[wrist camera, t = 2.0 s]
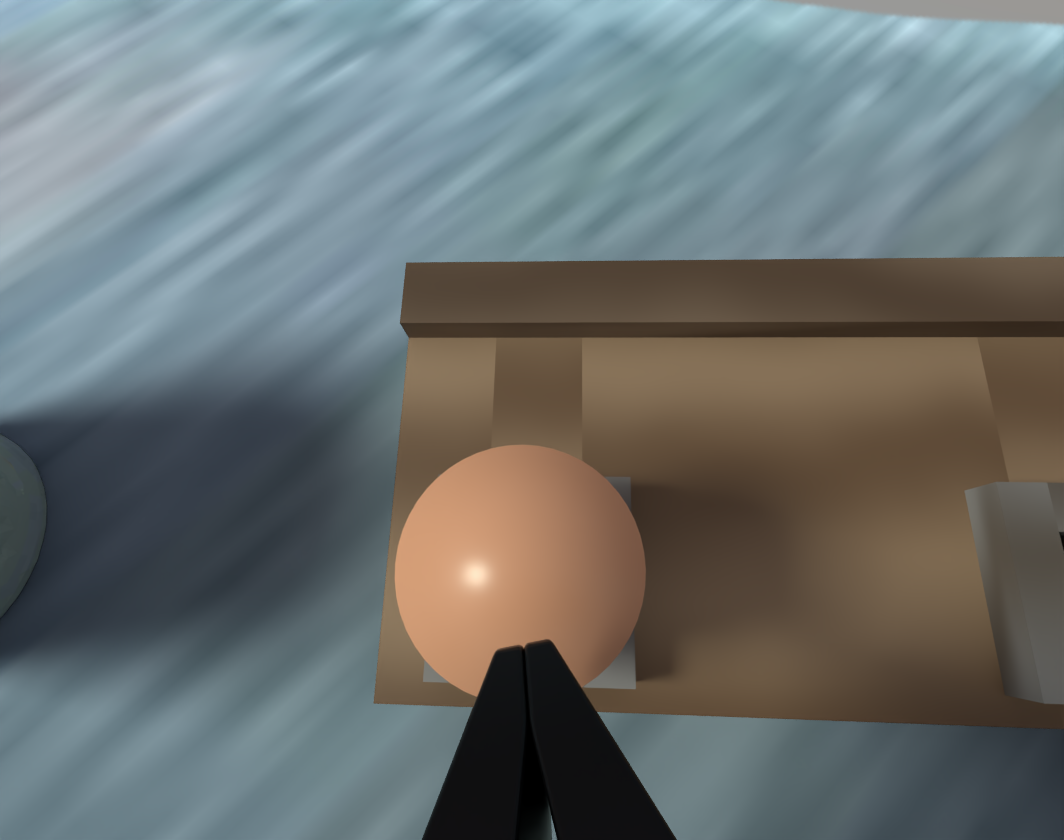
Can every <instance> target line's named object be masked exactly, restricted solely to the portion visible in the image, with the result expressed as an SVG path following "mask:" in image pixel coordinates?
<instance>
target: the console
mask: <svg viewBox="0 0 1064 840" xmlns="http://www.w3.org/2000/svg"><path fill="white" fill-rule="evenodd" d="M400 324H401V325H402V327H403V329H404V330H405V332H406V334H407V335H408V337H409V342H408V352H407V363H406V373H405V383H404V394H403V404H402V414H401V425H400V435H399V446H398V456H397V466H396V477H395V487H394V497H393V508H392V518H391V529H390V539H389V549H388V560H387V570H386V580H385V591H384V601H383V612H382V622H381V632H380V643H379V653H378V663H377V674H376V684H375V694H374V703H377V704H404V705H430V706H457V707H473V706H474V703H475V701H476V698H477V697H476V696H474V695H471V694H469V693H466V692H464V691H462V690H461V689H459V688H457V687H456V686H454V685H452V684H451V683H449V682H448V681H447V680H445V679H444V678H443V677H442V676H440V675H439V674H438V673H437V672H436V671H435V670H434V669H433V668H432V667H431V666H430V665H429V664H428V663H427V662H426V661H425V660H424V658H423V657H422V656H421V654H420V653H419V651H418V650H417V649H416V647H415V646H414V644H413V642H412V640H411V638H410V637H409V635H408V633H407V631H406V629H405V626H404V623H403V620H402V618H401V615H400V611H399V607H398V602H397V598H396V589H395V561H396V555H397V548H398V544H399V541H400V537H401V534H402V530H403V528H404V526H405V523H406V521H407V519H408V516H409V514H410V513H411V511H412V509H413V507H414V506H415V504H416V502H417V501H418V500H419V498H420V497H421V496H422V494H423V493H424V492H425V490H426V489H427V488H428V487H429V486H430V485H431V484H432V483H433V482H434V481H435V480H436V479H437V478H438V477H439V476H440V475H441V474H443V473H444V472H445V471H446V470H447V469H449V468H450V467H452V466H453V465H455V464H456V463H458V462H460V461H461V460H463V459H465V458H467V457H469V456H471V455H474V454H476V453H478V452H482V451H485V450H488V449H491V448H496V447H501V446H507V445H535V446H542V447H547V448H552V449H555V450H558V451H561V452H564V453H567V454H569V455H571V456H573V457H575V458H577V459H579V460H581V461H583V462H585V463H586V464H588V465H589V466H591V467H592V468H594V469H595V470H596V471H597V472H599V473H600V474H601V475H602V476H603V477H604V478H606V479H607V480H608V481H609V482H610V484H611V485H612V486H613V487H614V488H615V489H616V490H617V491H618V493H619V494H620V496H621V497H622V498H623V500H624V501H625V503H626V504H627V506H628V508H629V510H630V512H631V514H632V516H633V517H634V519H635V522H636V525H637V527H638V530H639V533H640V536H641V540H642V544H643V549H644V555H645V565H646V581H645V592H644V598H643V604H642V607H641V610H640V614H639V617H638V620H637V623H636V625H635V627H634V629H633V632H632V634H631V636H630V638H629V639H628V641H627V643H626V644H625V646H624V647H623V649H622V651H621V652H620V653H619V655H618V656H617V657H616V658H615V659H614V661H613V662H612V663H611V664H610V665H609V666H608V667H607V668H606V669H605V670H604V671H603V672H602V673H601V674H600V675H599V676H597V677H596V678H595V679H593V680H592V681H590V682H589V683H588V684H586V685H585V686H583V687H582V689H583V691H584V692H585V694H586V696H587V697H588V699H589V700H590V702H591V704H592V705H593V707H594V708H595V710H596V711H597V712H617V713H644V714H670V715H697V716H724V717H751V718H777V719H804V720H831V721H857V722H884V723H911V724H937V725H964V726H991V727H1017V728H1044V729H1064V257H997V258H884V259H771V260H657V261H544V262H430V263H406V269H405V279H404V289H403V299H402V308H401V318H400Z"/></svg>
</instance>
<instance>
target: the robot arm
mask: <svg viewBox="0 0 1064 840" xmlns="http://www.w3.org/2000/svg"><path fill="white" fill-rule="evenodd" d="M551 816H552V820H553V824H554V828H555V832H556V836H557V840H677V839H676V838H675V836H674V834H673V833H672V831H671V830H670V828H669V826H668V825H667V823H666V822H665V820H664V818H663V817H662V815H661V814H660V812H659V810H658V809H657V807H656V806H655V804H654V802H653V801H652V799H651V798H650V796H649V794H648V793H647V791H646V790H645V788H644V786H643V785H642V783H641V782H640V780H639V778H638V777H637V775H636V774H635V772H634V771H633V769H632V767H631V766H630V764H629V763H628V761H627V759H626V758H625V756H624V755H623V753H622V751H621V750H620V748H619V747H618V745H617V743H616V742H615V740H614V739H613V737H612V735H611V734H610V732H609V731H608V729H607V727H606V726H605V724H604V723H603V721H602V719H601V718H600V716H599V715H598V713H597V711H596V710H595V708H594V707H593V705H592V704H591V702H590V700H589V699H588V697H587V696H586V694H585V692H584V691H583V689H582V688H581V686H580V684H579V683H578V681H577V680H576V678H575V676H574V675H573V673H572V672H571V670H570V668H569V667H568V665H567V664H566V662H565V660H564V659H563V657H562V656H561V654H560V652H559V651H558V649H557V648H556V646H555V644H554V643H553V642H552V641H551V640H549V639H544V640H539V641H534V642H529V643H527V644H526V645H525V647H523V646H521V645H514V646H509V647H504V648H499V649H497V650H496V651H495V653H494V655H493V657H492V660H491V662H490V665H489V667H488V670H487V672H486V675H485V678H484V680H483V683H482V685H481V688H480V691H479V693H478V696H477V698H476V701H475V703H474V706H473V709H472V711H471V714H470V716H469V719H468V722H467V724H466V727H465V729H464V732H463V734H462V737H461V740H460V742H459V745H458V747H457V750H456V752H455V755H454V758H453V760H452V763H451V765H450V768H449V771H448V773H447V776H446V778H445V781H444V783H443V786H442V789H441V791H440V794H439V796H438V799H437V802H436V804H435V807H434V809H433V812H432V814H431V817H430V820H429V822H428V825H427V827H426V830H425V833H424V835H423V838H422V840H552V829H551Z"/></svg>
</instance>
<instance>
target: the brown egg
mask: <svg viewBox="0 0 1064 840" xmlns="http://www.w3.org/2000/svg"><path fill="white" fill-rule="evenodd" d="M645 581H646V565H645V555H644V549H643V544H642V540H641V536H640V533H639V530H638V527H637V525H636V522H635V519H634V517H633V516H632V514H631V512H630V510H629V508H628V506H627V504H626V503H625V501H624V500H623V498H622V497H621V496H620V494H619V493H618V491H617V490H616V489H615V488H614V487H613V486H612V485H611V484H610V482H609V481H608V480H607V479H606V478H604V477H603V476H602V475H601V474H600V473H599V472H597V471H596V470H595V469H594V468H592V467H591V466H589V465H588V464H586V463H585V462H583V461H581V460H579V459H577V458H575V457H573V456H571V455H569V454H567V453H564V452H561V451H558V450H555V449H552V448H547V447H542V446H535V445H507V446H501V447H496V448H491V449H488V450H485V451H482V452H478V453H476V454H474V455H471V456H469V457H467V458H465V459H463V460H461V461H460V462H458V463H456V464H455V465H453V466H452V467H450V468H449V469H447V470H446V471H445V472H444V473H443V474H441V475H440V476H439V477H438V478H437V479H436V480H435V481H434V482H433V483H432V484H431V485H430V486H429V487H428V488H427V489H426V490H425V492H424V493H423V494H422V496H421V497H420V498H419V500H418V501H417V502H416V504H415V506H414V507H413V509H412V511H411V513H410V514H409V516H408V519H407V521H406V523H405V526H404V528H403V530H402V534H401V537H400V541H399V544H398V548H397V555H396V561H395V589H396V598H397V602H398V607H399V611H400V615H401V618H402V620H403V623H404V626H405V629H406V631H407V633H408V635H409V637H410V638H411V640H412V642H413V644H414V646H415V647H416V649H417V650H418V651H419V653H420V654H421V656H422V657H423V658H424V660H425V661H426V662H427V663H428V664H429V665H430V666H431V667H432V668H433V669H434V670H435V671H436V672H437V673H438V674H439V675H440V676H442V677H443V678H444V679H445V680H447V681H448V682H449V683H451V684H452V685H454V686H456V687H457V688H459V689H461V690H462V691H464V692H466V693H469V694H471V695H474V696H476V697H477V696H478V693H479V691H480V688H481V685H482V683H483V680H484V678H485V675H486V672H487V670H488V667H489V665H490V662H491V660H492V657H493V655H494V653H495V651H496V650H497V649H499V648H504V647H509V646H514V645H521V646H523V647H525V645H526V644H527V643H529V642H534V641H539V640H544V639H549V640H551V641H552V642H553V643H554V644H555V646H556V648H557V649H558V651H559V652H560V654H561V656H562V657H563V659H564V660H565V662H566V664H567V665H568V667H569V668H570V670H571V672H572V673H573V675H574V676H575V678H576V680H577V681H578V683H579V684H580V686H581V688H582V687H583V686H585V685H586V684H588V683H589V682H590V681H592V680H593V679H595V678H596V677H597V676H599V675H600V674H601V673H602V672H603V671H604V670H605V669H606V668H607V667H608V666H609V665H610V664H611V663H612V662H613V661H614V659H615V658H616V657H617V656H618V655H619V653H620V652H621V651H622V649H623V647H624V646H625V644H626V643H627V641H628V639H629V638H630V636H631V634H632V632H633V629H634V627H635V625H636V623H637V620H638V617H639V614H640V610H641V607H642V604H643V598H644V592H645Z"/></svg>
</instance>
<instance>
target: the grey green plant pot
mask: <svg viewBox="0 0 1064 840" xmlns="http://www.w3.org/2000/svg"><path fill="white" fill-rule="evenodd" d="M46 514H47V503H46V496H45V489H44V486H43V483H42V480H41V477H40V475H39V472H38V470H37V468H36V466H35V464H34V463H33V461H32V459H31V458H30V457H29V456H28V455H27V454H26V453H25V452H24V451H23V450H22V449H21V448H20V447H19V446H18V445H17V444H15V443H14V442H12V441H11V440H9V439H8V438H6V437H4V436H3V435H1V434H0V618H1V617H2V616H3V615H4V613H5V612H6V611H7V610H8V608H9V607H10V606H11V605H12V603H13V602H14V601H15V600H16V598H17V597H18V595H19V594H20V592H21V591H22V589H23V587H24V586H25V584H26V582H27V580H28V578H29V577H30V575H31V572H32V570H33V568H34V566H35V564H36V562H37V560H38V557H39V553H40V550H41V546H42V543H43V539H44V534H45V529H46Z"/></svg>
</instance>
